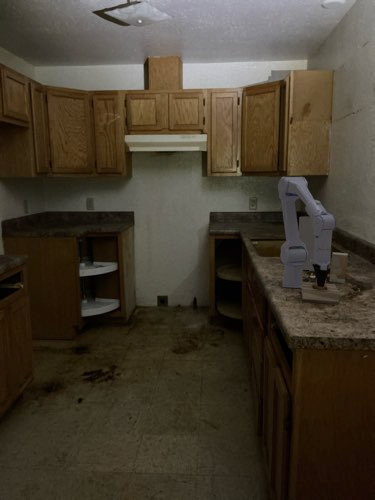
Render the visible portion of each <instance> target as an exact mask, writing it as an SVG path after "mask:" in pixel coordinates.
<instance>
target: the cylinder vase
mask: <svg viewBox="0 0 375 500" xmlns="http://www.w3.org/2000/svg"><path fill="white" fill-rule="evenodd" d="M312 222H313V221H312V219H311V218H310V216H299V222H298V232H299V239H300V240H301V241H302V242H303V243H304V244H305V246H306V250H307V252H308V260H307V261H306V262H305V265H303V271H304V270H309V271H308V272H315V271H314V268H313V265H312V264H315V263H313V262H310V259H313V257H314V242H315V235H314V230H313V227H312Z"/></svg>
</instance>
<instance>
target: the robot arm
mask: <svg viewBox="0 0 375 500" xmlns="http://www.w3.org/2000/svg"><path fill="white" fill-rule="evenodd" d="M308 183H309V182H308V181H307V179H306V178H305V177H304V176H294V177H293V176H292V177H291V176H282V177H281V178H280V179H279V182H278V184H277V189H278V198H279V199H280V202H281V210H282V218H283V219H282V220H283V224H284V226H283V227H284V235H285V242H284V243H283V244H282V245H280V260H281V262H282V264H283V265H284V267H283V280H282V281H281V282H282V287H283V288H290V289H291V288H293V289H301V287H302V282H303V271H304V270H303V265H305V262H306V261H307V260H308V252H307V250H306V246H305V244H304V243H303V242H302V241H301V240H300V239H299V223H298V218H297V217H298V216H297V209H296V201H297V200H298V199H300V200H301V201H302V202H303V203H304V204H305V207H304V210H305V212H306V214H307V215H308V217H310V218H311V219H312V221H313V222H312V227H313V230H314V235H315V242H314V257H313V259H310V262H313V263H315V264H312V265H313V268H314V271H313V272H314V276H315V280H316V279H317V286H318V287H324V284H325V281H326V282H327V277H328V275H330V272H331V267H329V266H330V265H331V263H332V260H331V255H332V241H333V240H332V239H333V231H334V230H335V229H336V227H337V225H338V224H337V218H336V216H335V215H334V214H331V213H330V212H328V211H327V210H326V209H325V207H324V206H323V204H322V203H321V201H320V200H318V199H315V198H314V197H313V195H312V193H311V192H310V190H309V188H308V186H309V185H308Z"/></svg>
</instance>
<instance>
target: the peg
mask: <svg viewBox="0 0 375 500" xmlns="http://www.w3.org/2000/svg"><path fill="white" fill-rule="evenodd" d="M315 283H316V287H315V289H322V290H326V284H327V280H326V281H325V284H324V287H318V286H317V279H315Z"/></svg>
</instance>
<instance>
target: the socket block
mask: <svg viewBox="0 0 375 500" xmlns="http://www.w3.org/2000/svg"><path fill="white" fill-rule="evenodd" d="M315 287H316V282H303V281H302V287H301V288H300V289H301V290H300V293H301V294H300V295H301V299H302V302H303V303H315V304H317V303H319V304H328V305H340V304H339V303H340V291H339V290H338V288H337V286H336V284H334V283H326V290H322V289H315Z"/></svg>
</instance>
